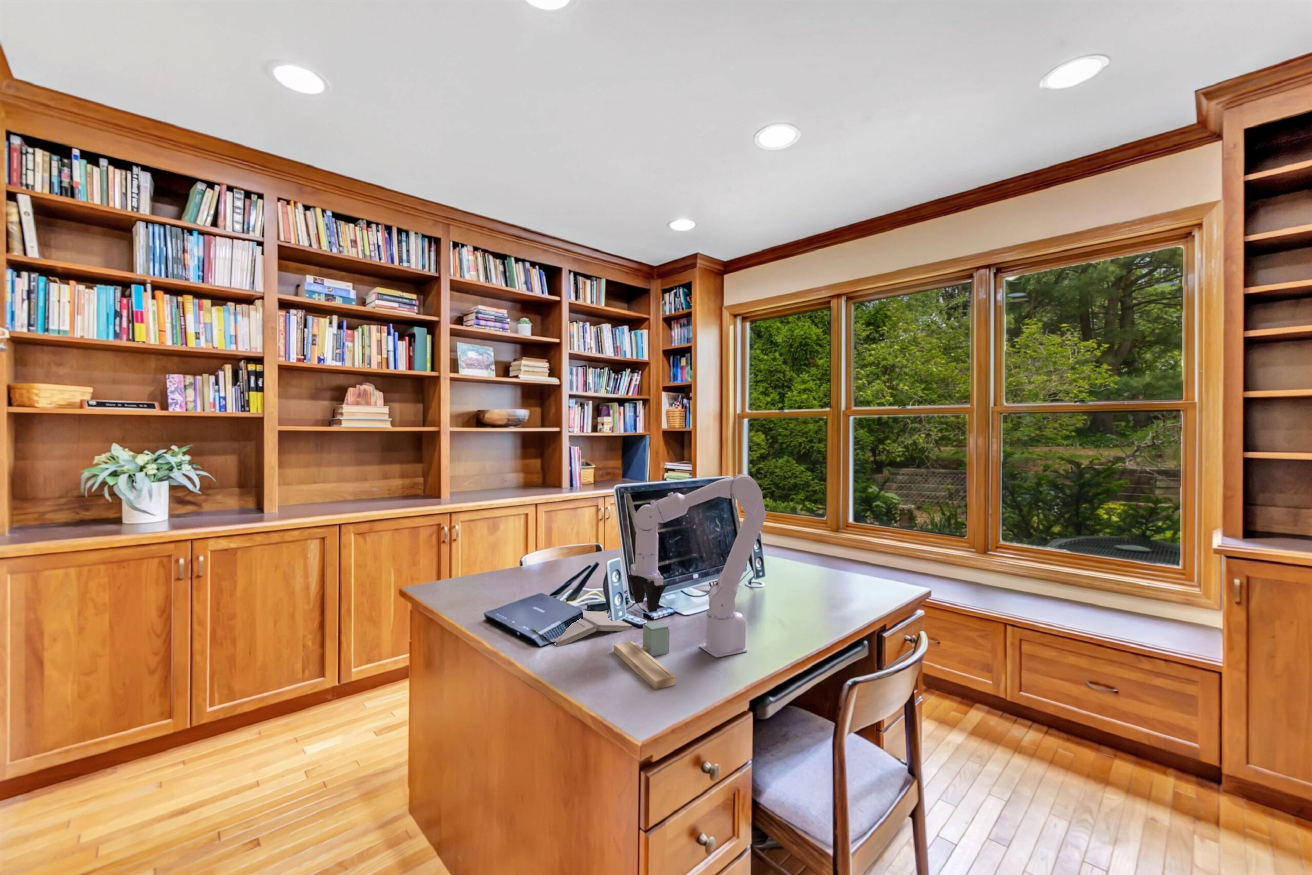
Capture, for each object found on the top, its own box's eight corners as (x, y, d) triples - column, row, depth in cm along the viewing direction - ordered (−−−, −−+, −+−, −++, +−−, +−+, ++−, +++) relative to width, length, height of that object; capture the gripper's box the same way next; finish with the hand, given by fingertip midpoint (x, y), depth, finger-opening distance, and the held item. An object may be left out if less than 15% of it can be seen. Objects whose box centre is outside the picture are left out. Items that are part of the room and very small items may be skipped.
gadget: (603, 616, 163) (604, 603, 163) (632, 630, 151) (633, 617, 151) (532, 631, 149) (532, 618, 149) (557, 649, 137) (558, 634, 137)
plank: (632, 648, 137) (632, 640, 137) (675, 684, 118) (675, 676, 117) (613, 651, 135) (614, 644, 135) (654, 689, 115) (655, 680, 115)
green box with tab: (660, 646, 139) (661, 620, 139) (669, 653, 135) (669, 626, 135) (638, 650, 136) (638, 624, 136) (646, 657, 132) (646, 630, 132)
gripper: (620, 548, 143) (619, 600, 143) (645, 560, 130) (644, 617, 130) (644, 546, 146) (643, 597, 146) (671, 557, 134) (670, 613, 134)
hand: (645, 606), depth 139 cm, fingers open, 7 cm apart
